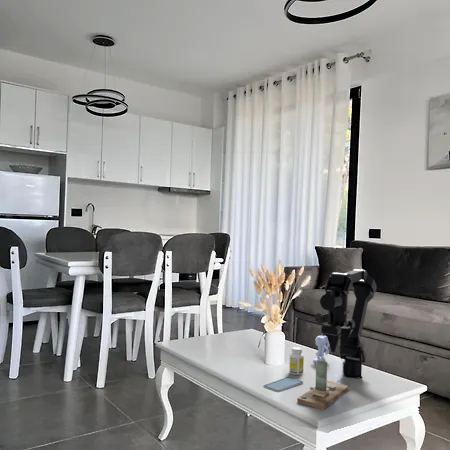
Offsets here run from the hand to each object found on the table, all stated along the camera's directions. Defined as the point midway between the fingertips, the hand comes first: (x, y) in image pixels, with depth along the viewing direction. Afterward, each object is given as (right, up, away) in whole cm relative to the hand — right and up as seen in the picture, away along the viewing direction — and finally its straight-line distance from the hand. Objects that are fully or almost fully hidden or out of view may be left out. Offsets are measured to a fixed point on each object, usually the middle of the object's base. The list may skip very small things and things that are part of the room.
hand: (337, 349), depth 168 cm
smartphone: (-20, -13, -2) cm, 24 cm away
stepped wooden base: (-7, -13, -11) cm, 18 cm away
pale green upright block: (-10, -11, -14) cm, 20 cm away
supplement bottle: (-13, -13, +12) cm, 22 cm away
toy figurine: (0, -14, +29) cm, 32 cm away
